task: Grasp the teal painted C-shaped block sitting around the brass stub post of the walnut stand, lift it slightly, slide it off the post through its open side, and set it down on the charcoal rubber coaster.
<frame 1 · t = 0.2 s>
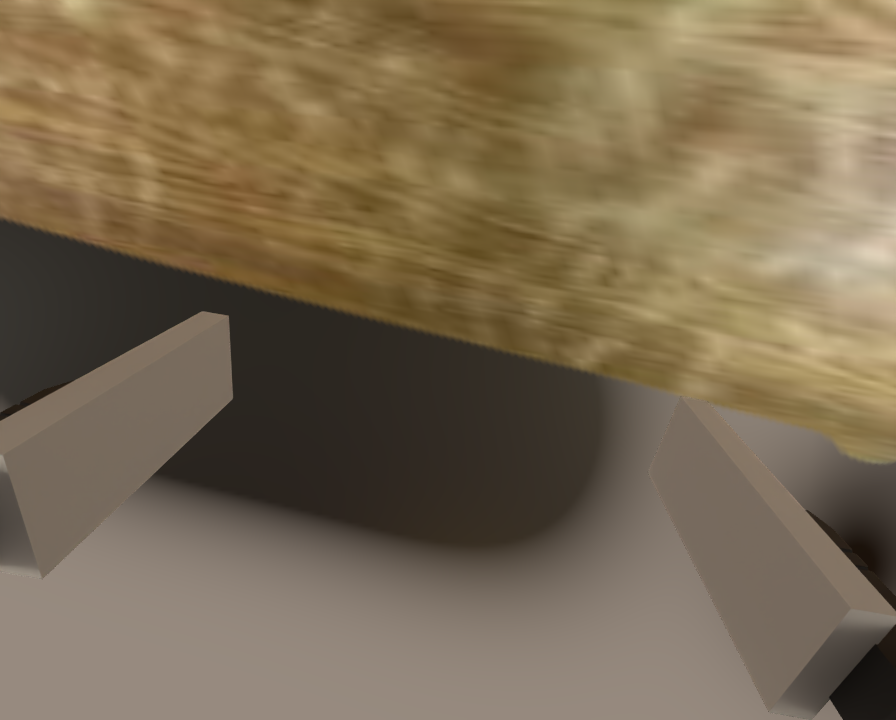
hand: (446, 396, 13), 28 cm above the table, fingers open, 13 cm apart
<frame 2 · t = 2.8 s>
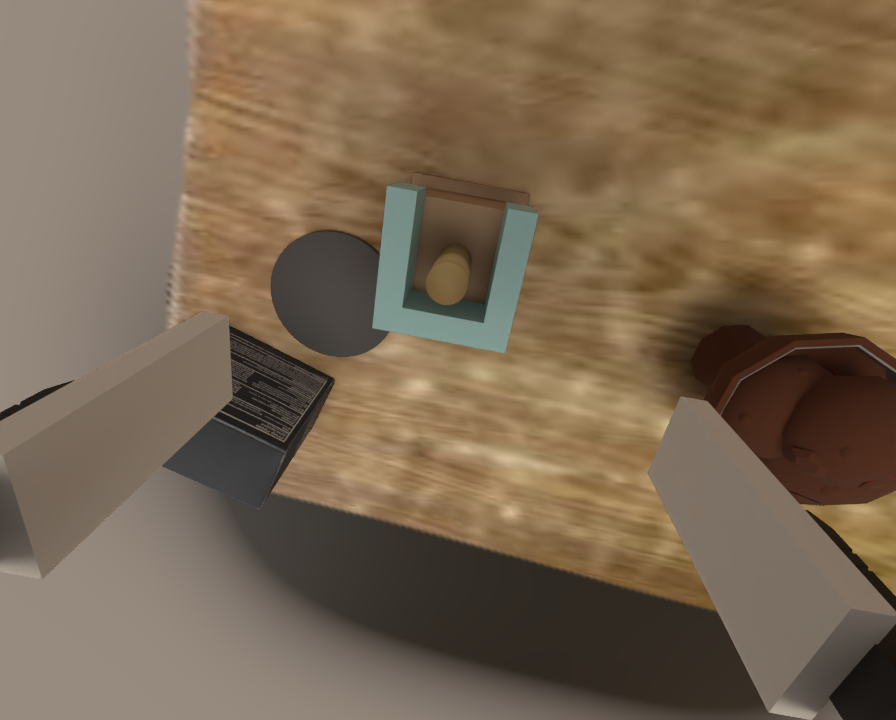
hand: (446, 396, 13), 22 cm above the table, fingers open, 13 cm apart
c link: (454, 260, 27), point 7 cm above the table, touching stand
ice cream bowl: (728, 356, 35), on the table
stand: (461, 240, 33), on the table
small box: (269, 378, 40), on the table
coaster: (336, 295, 36), on the table
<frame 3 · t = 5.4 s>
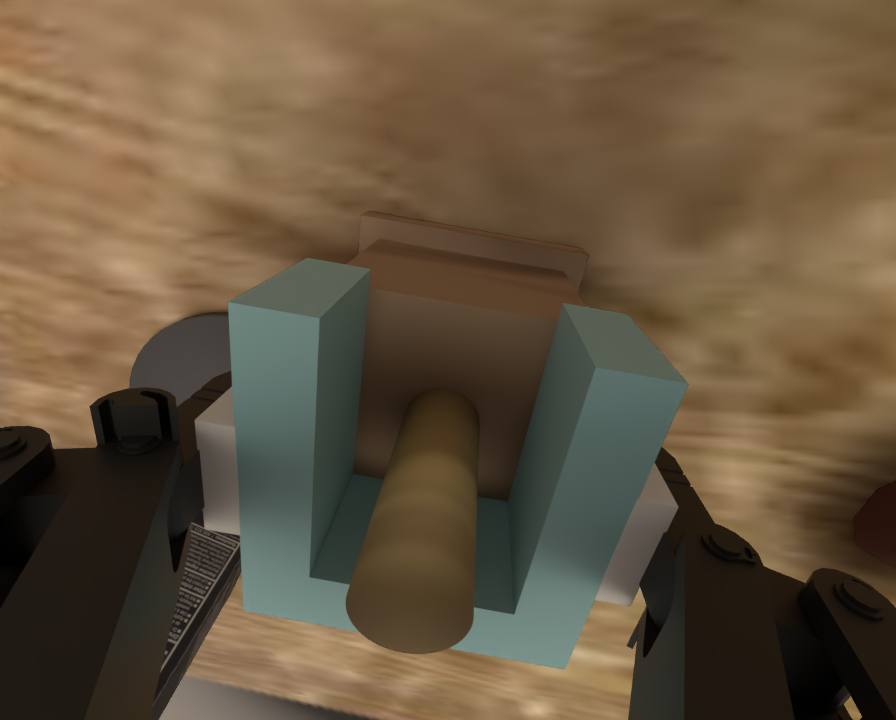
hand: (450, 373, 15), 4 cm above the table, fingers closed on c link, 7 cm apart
c link: (442, 421, 12), point 7 cm above the table, touching gripper, stand
stand: (457, 329, 18), on the table
small box: (155, 529, 25), on the table
coaster: (245, 415, 21), on the table
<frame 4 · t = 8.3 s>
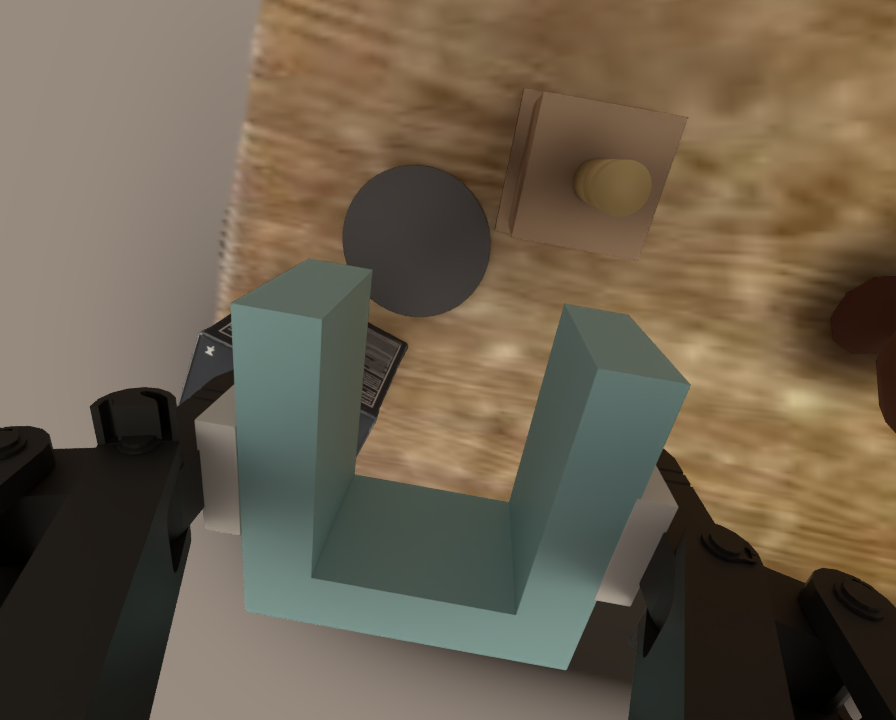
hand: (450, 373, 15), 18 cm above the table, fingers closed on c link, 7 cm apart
c link: (443, 422, 12), point 21 cm above the table, touching gripper
ice cream bowl: (874, 314, 30), on the table
stand: (571, 175, 28), on the table
small box: (332, 344, 35), on the table
coaster: (416, 244, 31), on the table
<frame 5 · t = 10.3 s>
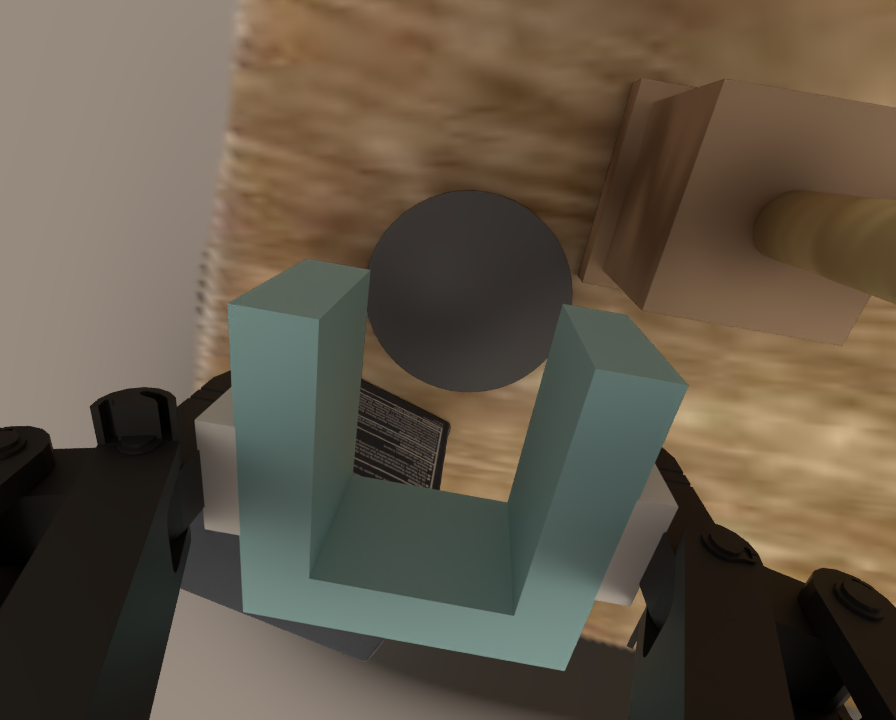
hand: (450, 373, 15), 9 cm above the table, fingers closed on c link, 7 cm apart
c link: (441, 422, 12), point 12 cm above the table, touching gripper
stand: (693, 203, 20), on the table
small box: (349, 422, 26), on the table
coaster: (467, 297, 22), on the table
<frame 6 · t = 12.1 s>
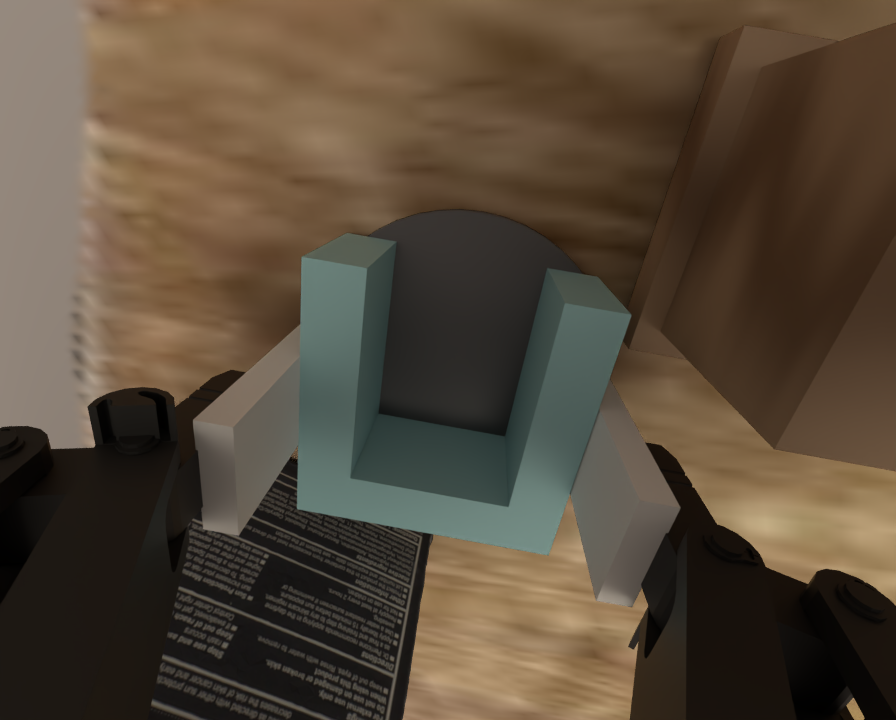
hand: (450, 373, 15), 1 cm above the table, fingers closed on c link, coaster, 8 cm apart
c link: (451, 367, 15), point 1 cm above the table, touching coaster, gripper
stand: (802, 230, 13), on the table
small box: (297, 518, 19), on the table
coaster: (455, 362, 15), on the table
when the fingers open (1 cm above the table, at t = 12.2 s): c link stays where it is, resting on coaster.
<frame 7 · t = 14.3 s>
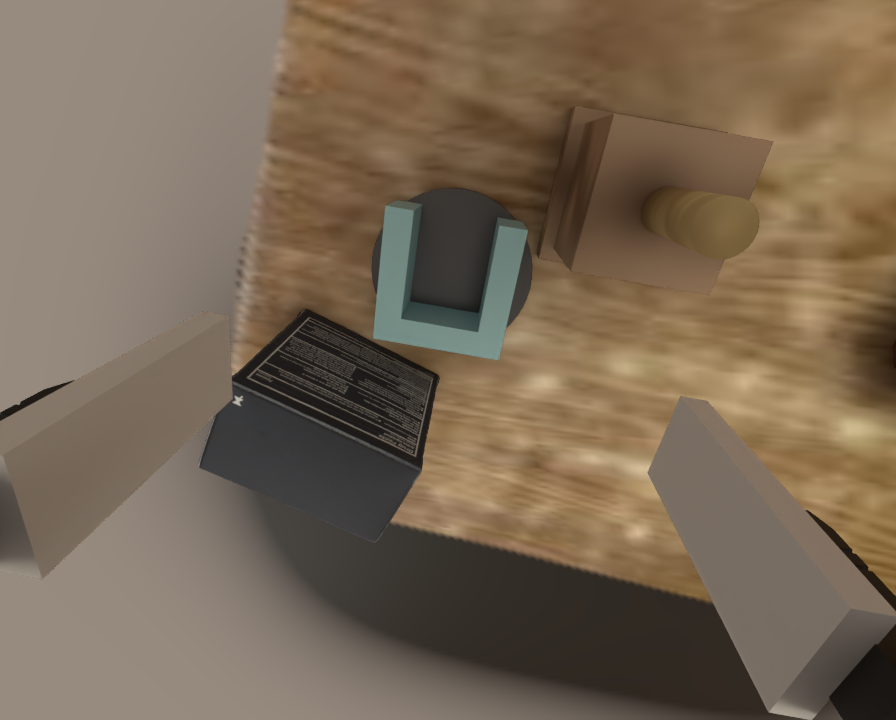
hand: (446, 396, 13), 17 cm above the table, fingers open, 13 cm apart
c link: (449, 273, 28), point 1 cm above the table, touching coaster
stand: (621, 197, 26), on the table
small box: (357, 376, 33), on the table
coaster: (451, 272, 29), on the table
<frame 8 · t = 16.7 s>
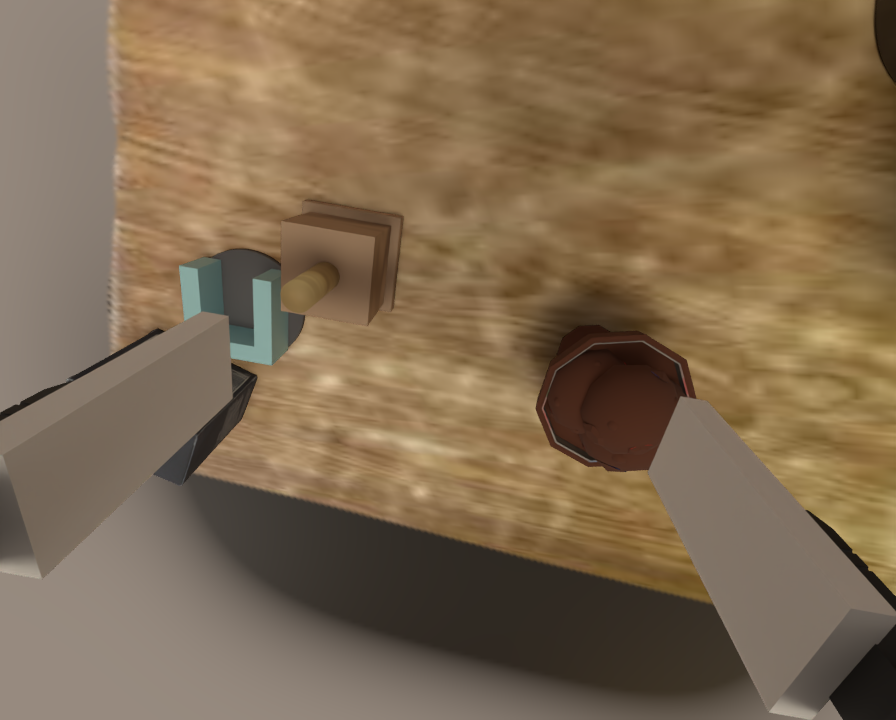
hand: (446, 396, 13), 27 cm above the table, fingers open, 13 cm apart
c link: (247, 305, 41), point 1 cm above the table, touching coaster
ice cream bowl: (587, 352, 41), on the table
stand: (352, 256, 39), on the table
small box: (201, 376, 45), on the table
coaster: (251, 303, 41), on the table
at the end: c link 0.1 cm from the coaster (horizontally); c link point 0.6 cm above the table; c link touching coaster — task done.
